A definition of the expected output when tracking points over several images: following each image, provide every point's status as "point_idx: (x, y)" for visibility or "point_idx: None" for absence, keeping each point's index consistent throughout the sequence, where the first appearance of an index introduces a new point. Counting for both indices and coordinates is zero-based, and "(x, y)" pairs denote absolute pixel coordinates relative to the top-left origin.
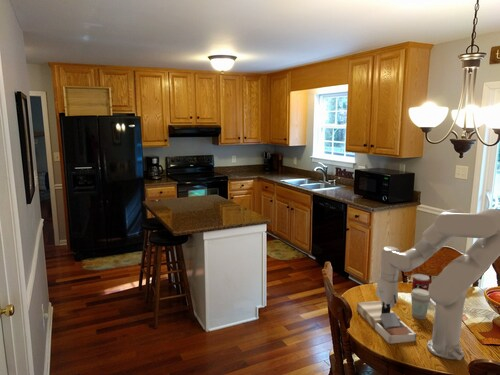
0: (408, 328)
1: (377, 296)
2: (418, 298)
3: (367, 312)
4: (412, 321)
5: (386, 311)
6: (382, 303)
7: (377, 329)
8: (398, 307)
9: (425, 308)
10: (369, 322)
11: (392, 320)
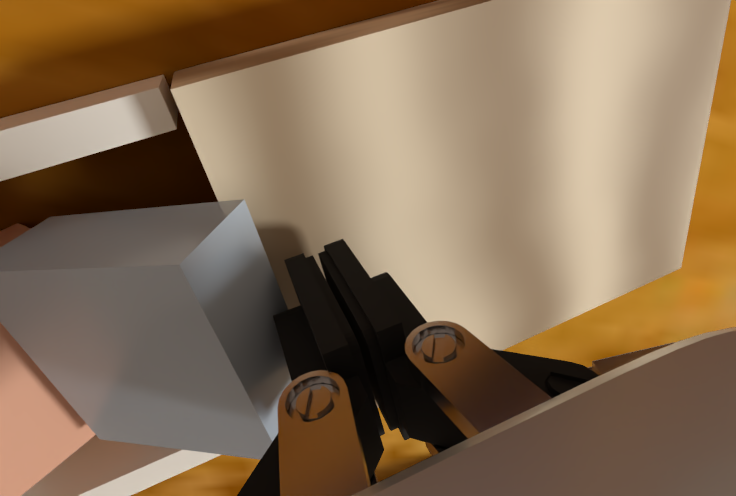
0: (105, 490)
1: (684, 348)
2: None
3: (453, 15)
4: (388, 448)
5: (286, 356)
6: (442, 366)
7: (88, 98)
8: (588, 367)
9: None
10: (323, 32)
11: (124, 383)
